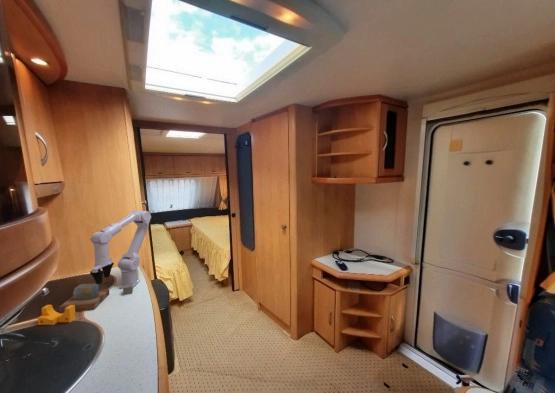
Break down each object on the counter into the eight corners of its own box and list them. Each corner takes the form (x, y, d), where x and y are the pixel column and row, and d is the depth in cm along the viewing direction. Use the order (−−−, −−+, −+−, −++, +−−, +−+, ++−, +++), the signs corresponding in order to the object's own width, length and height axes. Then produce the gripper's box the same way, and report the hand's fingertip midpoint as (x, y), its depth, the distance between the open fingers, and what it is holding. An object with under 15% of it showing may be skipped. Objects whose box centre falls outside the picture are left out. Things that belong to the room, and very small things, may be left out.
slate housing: (79, 295, 112) (78, 284, 112) (98, 294, 113) (98, 283, 113) (72, 300, 108) (71, 288, 107) (92, 299, 109) (91, 287, 108)
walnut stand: (78, 297, 116) (78, 291, 116) (109, 294, 119) (108, 289, 119) (59, 313, 102) (58, 307, 102) (94, 309, 106) (94, 303, 105)
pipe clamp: (38, 325, 95) (37, 310, 94) (48, 318, 99) (47, 304, 98) (66, 325, 95) (65, 310, 94) (75, 318, 99) (74, 305, 98)
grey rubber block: (124, 292, 122) (123, 285, 122) (132, 290, 124) (132, 283, 124) (123, 295, 119) (122, 288, 118) (132, 293, 120) (131, 286, 120)
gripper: (103, 259, 108) (104, 286, 109) (117, 249, 122) (118, 273, 123) (86, 260, 106) (88, 287, 107) (102, 250, 120) (103, 274, 122)
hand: (103, 280), depth 115 cm, fingers open, 7 cm apart
